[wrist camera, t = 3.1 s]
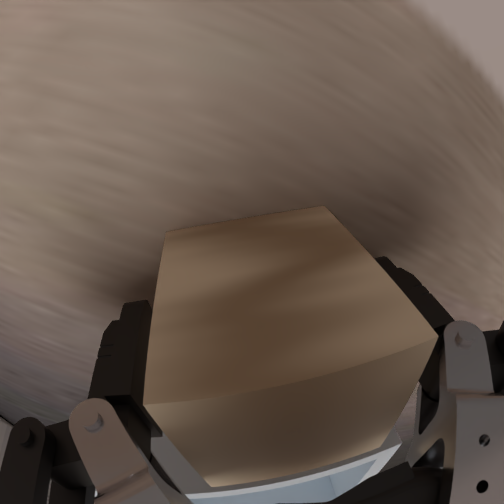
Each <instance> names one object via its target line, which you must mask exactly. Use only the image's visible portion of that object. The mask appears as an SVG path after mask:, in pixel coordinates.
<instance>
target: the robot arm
mask: <svg viewBox="0 0 504 504" xmlns="http://www.w3.org/2000/svg"><path fill="white" fill-rule="evenodd" d="M374 259H375V260H376V262H377V263H378V264H379V265H380V266H381V267H382V268H383V269H384V271H385V272H386V273H387V274H388V275H389V276H390V277H391V279H392V280H393V281H394V282H395V283H396V284H397V286H398V287H399V288H400V289H401V290H402V291H403V293H404V294H405V295H406V296H407V297H408V299H409V300H410V301H411V302H412V303H413V305H414V306H415V307H416V308H417V309H418V311H419V312H420V313H421V314H422V316H423V317H424V318H425V319H426V321H427V322H428V323H429V324H430V326H431V327H432V328H433V329H434V331H435V332H436V333H437V335H438V336H439V337H438V339H437V341H436V344H435V346H434V348H433V351H432V353H431V355H430V358H429V360H428V362H427V364H426V366H425V368H424V370H423V372H422V375H421V377H420V379H419V383H420V384H419V386H418V390H417V402H416V414H415V424H414V433H413V440H412V443H411V446H410V448H409V450H408V453H407V456H406V459H405V462H404V463H402V464H400V465H398V466H395V467H393V468H391V469H388V470H386V471H383V472H381V473H379V474H376V475H373V476H371V477H369V478H367V479H366V480H364V481H363V482H361V483H360V484H358V485H356V486H355V487H353V488H352V489H350V490H348V491H347V492H345V493H343V494H342V495H340V496H338V497H336V498H335V499H333V500H331V501H328V502H319V503H277V504H504V321H503V323H502V325H501V327H500V329H499V330H492V331H483V332H482V331H481V330H480V329H479V328H478V327H477V326H476V325H474V324H472V323H470V322H467V321H455V320H454V319H453V318H452V317H451V316H450V315H449V313H448V312H447V311H446V310H445V309H444V308H443V307H442V305H441V304H440V303H439V302H438V301H437V300H436V299H435V298H434V297H433V295H432V294H431V293H430V294H429V291H428V290H427V289H426V288H425V287H424V286H422V284H421V282H420V281H419V280H418V279H417V278H416V277H415V276H414V275H413V274H411V273H409V272H408V271H406V270H404V269H402V268H397V267H396V266H395V265H394V264H393V263H392V262H391V261H390V260H389V259H388V258H387V257H385V256H383V257H378V258H374ZM152 313H153V311H152V309H151V306H150V304H149V302H148V301H147V300H142V301H136V302H129V303H125V304H124V305H123V308H122V312H121V316H120V320H115V321H112V322H111V323H110V325H109V326H108V327H107V329H106V330H105V331H104V333H103V337H102V340H101V344H100V347H101V348H99V352H98V359H97V360H96V364H95V368H94V372H93V377H92V381H91V386H90V390H89V395H88V399H87V400H85V401H83V402H81V403H80V404H78V405H77V406H76V407H75V408H74V410H73V411H72V413H71V415H70V418H69V420H66V421H63V422H60V423H56V424H53V425H49V426H46V427H45V426H44V425H43V424H42V423H41V422H40V421H39V420H38V419H36V418H33V417H26V418H23V419H21V420H19V421H18V422H17V423H16V424H15V425H14V426H13V428H12V430H11V432H10V435H9V438H8V442H7V446H6V449H5V453H4V457H3V461H2V465H1V470H0V504H47V497H48V490H49V483H50V480H52V482H51V488H50V495H49V503H48V504H194V503H193V502H192V501H191V500H190V499H189V498H188V497H187V496H186V495H185V494H184V493H183V491H182V490H181V489H180V488H179V486H178V485H177V484H176V483H175V481H174V480H173V479H172V477H171V476H170V475H169V474H168V472H167V471H166V470H165V468H164V467H163V465H162V464H161V463H160V461H159V460H158V458H157V457H156V456H155V454H154V453H153V451H152V450H151V438H152V437H163V431H162V430H161V428H160V427H159V426H158V425H157V423H156V422H155V421H154V419H153V418H152V417H151V415H150V414H149V412H148V411H147V410H146V408H145V407H144V406H143V397H144V385H145V373H146V363H147V353H148V345H149V336H150V328H151V320H152ZM95 488H96V490H97V496H96V497H95Z"/></svg>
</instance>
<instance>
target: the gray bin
mask: <svg viewBox="0 0 504 504" xmlns="http://www.w3.org/2000/svg"><path fill="white" fill-rule="evenodd" d="M401 444H402V441H401V439H400V437H399V435H398V433H397V431H396V429H395V427H394V426H393V428H392V429H391V431H390V433H389V434H388V436H387V437H386V439H385V440H384V442H383V444H382V445H381V447H379V448H376V449H374V450H371V451H368V452H366V453H363V454H360V455H357V456H354V457H351V458H348V459H345V460H342V461H339V462H336V463H333V464H329V465H326V466H322V467H319V468H315V469H311V470H308V471H304V472H300V473H295V474H291V475H287V476H282V477H277V478H272V479H267V480H261V481H256V482H249V483H243V484H235V485H228V486H219V487H211V486H210V485H209V484H208V483H207V482H206V481H205V480H204V479H203V478H202V477H201V476H200V475H199V473H198V472H197V471H196V470H195V469H194V468H193V467H192V466H191V465H190V463H189V462H188V461H187V460H186V459H185V458H184V457H183V455H182V454H181V453H180V452H179V451H178V450H177V448H176V447H175V446H174V445H173V443H172V442H171V441H170V440H169V439H168V437H167V436H166V435H165V434H164V432H163V437H152V438H151V450H152V451H153V453H154V454H155V456H156V457H157V458H158V460H159V461H160V463H161V464H162V465H163V467H164V468H165V470H166V471H167V472H168V474H169V475H170V476H171V477H172V479H173V480H174V481H175V483H176V484H177V485H178V486H179V488H180V489H181V490H182V491H183V493H184V494H185V495H186V496H187V497H188V498H189V499H190V500H191V501H192V502H193V503H194V504H277V503H319V502H328V501H331V500H333V499H335V498H336V497H338V496H340V495H342V494H343V493H345V492H347V491H348V490H350V489H352V488H353V487H355V486H356V485H358V484H360V483H361V482H363V481H364V480H366V479H367V478H369V477H371V476H373V475H376V474H377V473H378V472H379V471H380V470H381V469H382V468H383V466H384V465H385V464H386V463H387V462H388V460H389V459H390V458H391V457H392V455H393V454H394V453H395V452H396V450H397V449H398V448H399V446H400V445H401ZM96 496H97V490H96V488H95V497H96Z"/></svg>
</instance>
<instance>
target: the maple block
mask: <svg viewBox="0 0 504 504" xmlns="http://www.w3.org/2000/svg"><path fill="white" fill-rule="evenodd" d="M438 337H439V336H438V335H437V333H436V332H435V331H434V329H433V328H432V327H431V326H430V324H429V323H428V322H427V321H426V319H425V318H424V317H423V316H422V314H421V313H420V312H419V311H418V309H417V308H416V307H415V306H414V305H413V303H412V302H411V301H410V300H409V299H408V297H407V296H406V295H405V294H404V293H403V291H402V290H401V289H400V288H399V287H398V286H397V284H396V283H395V282H394V281H393V280H392V279H391V277H390V276H389V275H388V274H387V273H386V272H385V271H384V269H383V268H382V267H381V266H380V265H379V264H378V263H377V262H376V260H375V259H374V258H373V257H372V256H371V255H370V254H369V253H368V252H367V250H366V249H365V248H364V247H363V246H362V245H361V244H360V243H359V242H358V241H357V240H356V239H355V237H354V236H353V235H352V234H351V233H350V232H349V231H348V230H347V229H346V228H345V227H344V226H343V225H342V224H341V223H340V222H339V221H338V220H337V219H336V217H335V216H334V215H333V214H332V213H331V212H330V211H329V210H328V209H327V208H326V207H325V206H319V207H312V208H305V209H299V210H292V211H285V212H279V213H273V214H266V215H260V216H254V217H248V218H242V219H236V220H230V221H224V222H218V223H212V224H207V225H201V226H195V227H190V228H184V229H179V230H173V231H168V232H166V235H165V240H164V246H163V251H162V256H161V262H160V268H159V274H158V280H157V286H156V292H155V299H154V306H153V313H152V320H151V328H150V336H149V345H148V353H147V363H146V373H145V385H144V397H143V406H144V407H145V408H146V410H147V411H148V412H149V414H150V415H151V417H152V418H153V419H154V421H155V422H156V423H157V425H158V426H159V427H160V428H161V430H162V431H163V432H164V434H165V435H166V436H167V437H168V439H169V440H170V441H171V442H172V443H173V445H174V446H175V447H176V448H177V450H178V451H179V452H180V453H181V454H182V455H183V457H184V458H185V459H186V460H187V461H188V462H189V463H190V465H191V466H192V467H193V468H194V469H195V470H196V471H197V472H198V473H199V475H200V476H201V477H202V478H203V479H204V480H205V481H206V482H207V483H208V484H209V485H210V486H211V487H219V486H228V485H235V484H243V483H249V482H256V481H261V480H267V479H272V478H277V477H282V476H287V475H291V474H295V473H300V472H304V471H308V470H311V469H315V468H319V467H322V466H326V465H329V464H333V463H336V462H339V461H342V460H345V459H348V458H351V457H354V456H357V455H360V454H363V453H366V452H368V451H371V450H374V449H376V448H379V447H381V445H382V444H383V442H384V440H385V439H386V437H387V436H388V434H389V433H390V431H391V429H392V428H393V426H394V424H395V423H396V421H397V419H398V418H399V416H400V414H401V412H402V411H403V409H404V407H405V405H406V403H407V402H408V400H409V398H410V396H411V394H412V392H413V390H414V388H415V387H416V385H417V383H418V381H419V379H420V377H421V375H422V372H423V370H424V368H425V366H426V364H427V362H428V360H429V358H430V355H431V353H432V351H433V348H434V346H435V344H436V341H437V339H438Z"/></svg>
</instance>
